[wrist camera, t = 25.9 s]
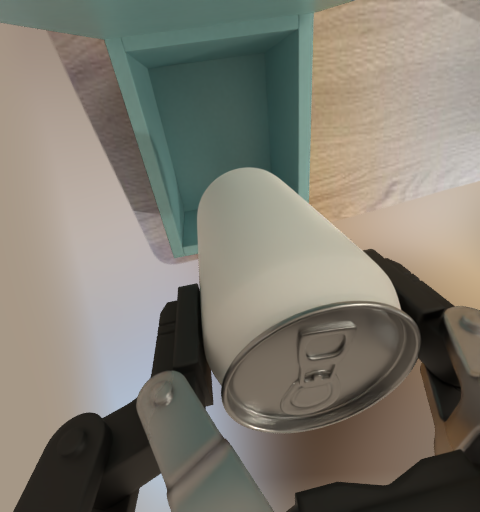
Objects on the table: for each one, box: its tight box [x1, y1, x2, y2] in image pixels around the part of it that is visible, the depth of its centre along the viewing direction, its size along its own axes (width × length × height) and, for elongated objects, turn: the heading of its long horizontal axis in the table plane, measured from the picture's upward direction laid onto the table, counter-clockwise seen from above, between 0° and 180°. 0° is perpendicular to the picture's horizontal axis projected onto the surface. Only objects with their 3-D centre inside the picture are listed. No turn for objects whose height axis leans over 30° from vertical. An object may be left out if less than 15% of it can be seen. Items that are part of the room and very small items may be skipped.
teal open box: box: [104, 13, 314, 258], centre depth 24 cm, size 16×13×10 cm
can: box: [197, 167, 421, 433], centre depth 12 cm, size 6×6×12 cm
